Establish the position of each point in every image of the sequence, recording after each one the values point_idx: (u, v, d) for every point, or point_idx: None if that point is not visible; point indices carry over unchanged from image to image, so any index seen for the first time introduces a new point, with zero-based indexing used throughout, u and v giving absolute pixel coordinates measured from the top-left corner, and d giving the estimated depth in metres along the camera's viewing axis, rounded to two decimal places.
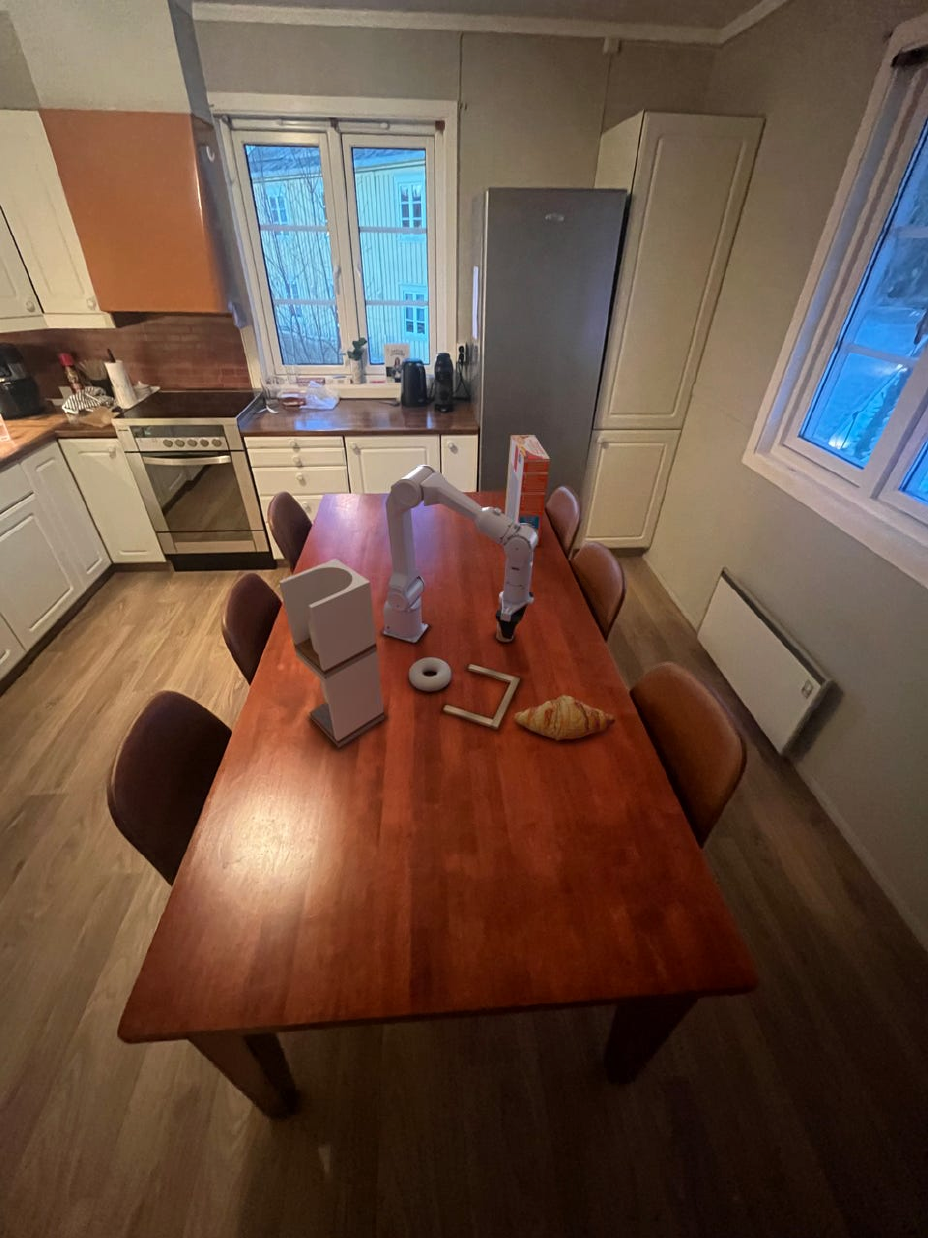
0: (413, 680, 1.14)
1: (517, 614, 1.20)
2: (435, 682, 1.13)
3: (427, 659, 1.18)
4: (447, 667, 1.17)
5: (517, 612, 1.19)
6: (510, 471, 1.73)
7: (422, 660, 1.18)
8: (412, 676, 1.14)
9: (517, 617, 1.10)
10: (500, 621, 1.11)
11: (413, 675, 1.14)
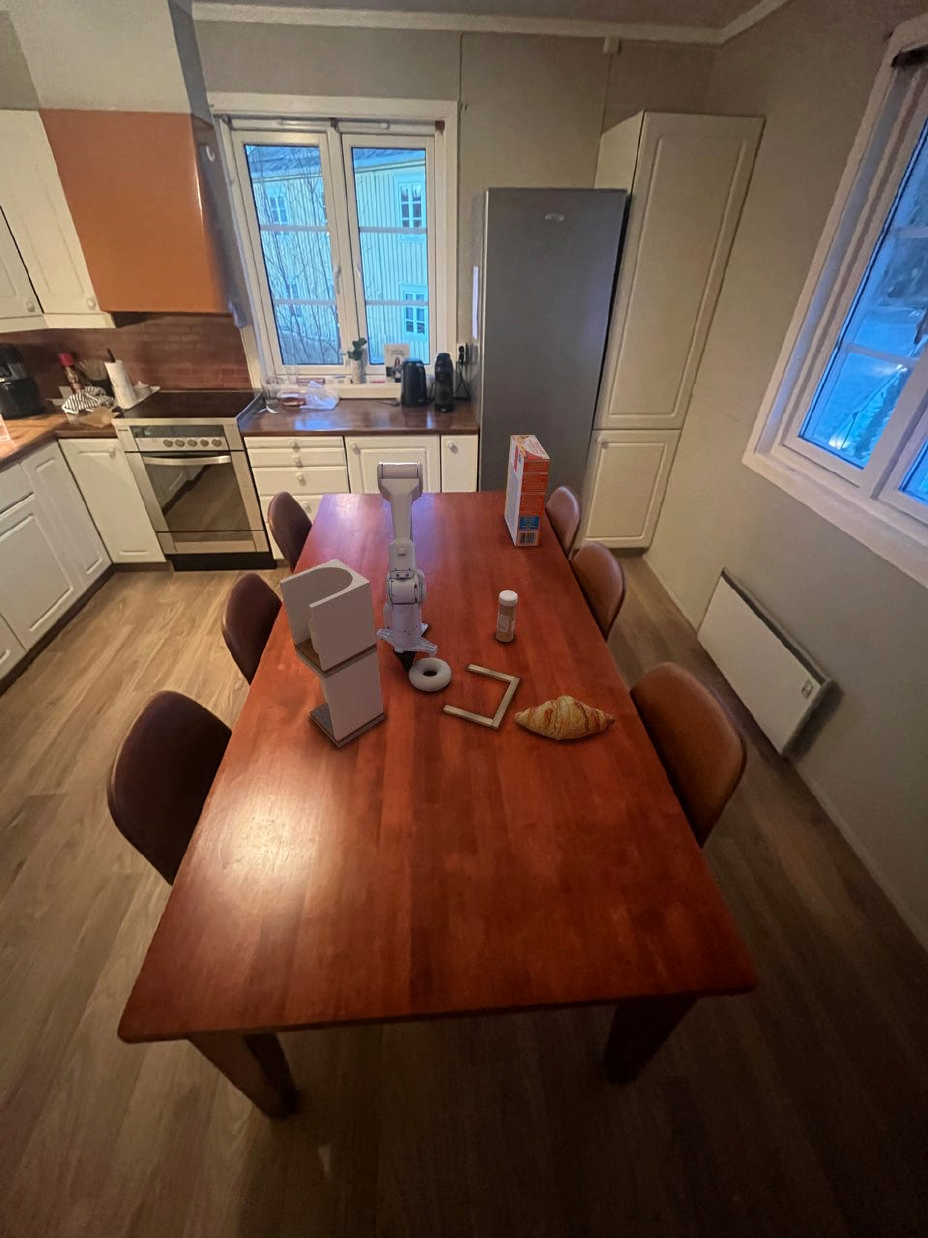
0: (413, 680, 1.14)
1: None
2: (435, 682, 1.13)
3: (427, 659, 1.18)
4: (447, 667, 1.17)
5: None
6: (510, 471, 1.73)
7: (422, 660, 1.18)
8: (412, 676, 1.14)
9: (399, 651, 1.14)
10: None
11: (413, 675, 1.14)
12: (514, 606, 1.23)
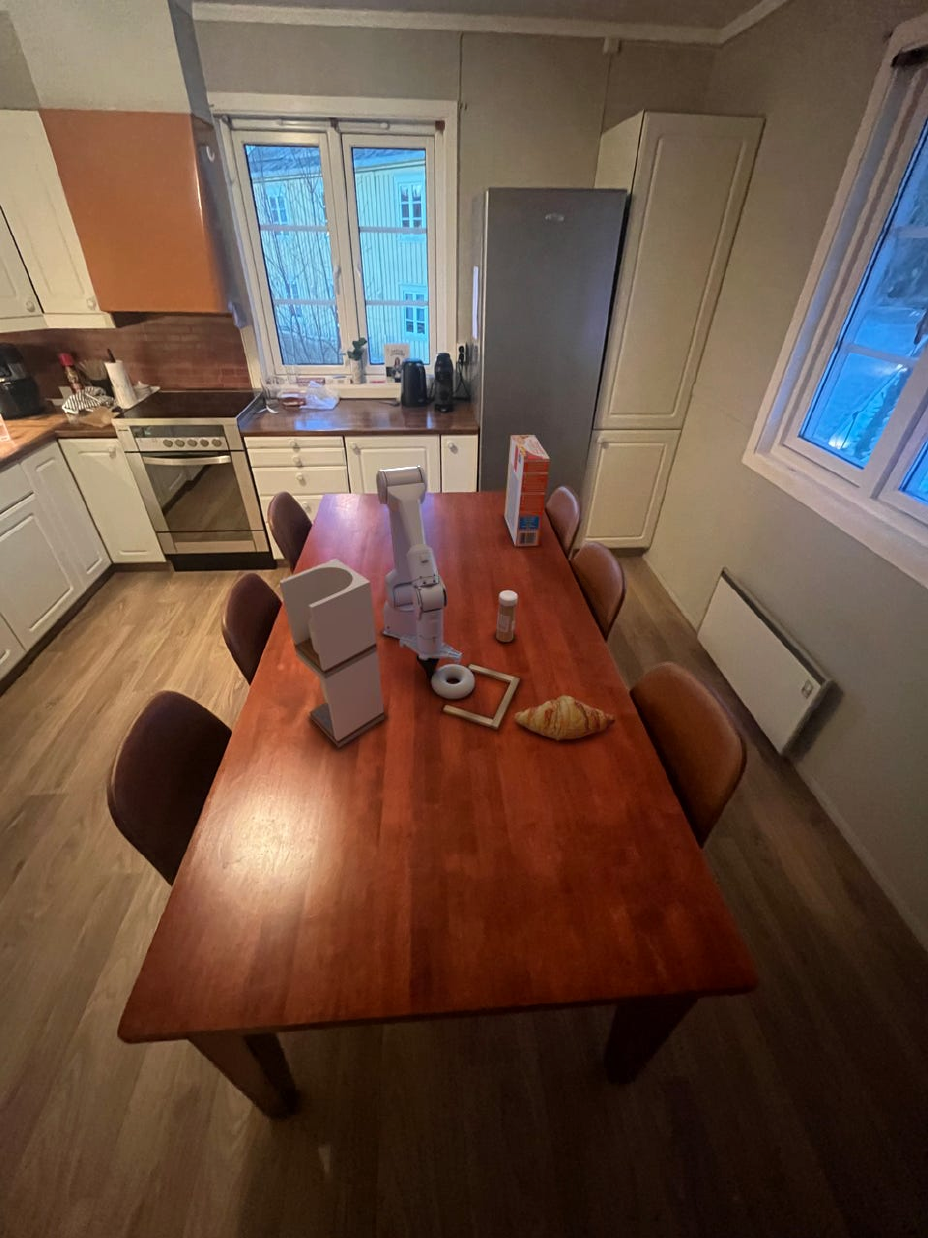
0: (437, 687, 1.12)
1: None
2: (459, 690, 1.11)
3: (450, 666, 1.17)
4: (470, 674, 1.15)
5: None
6: (510, 471, 1.73)
7: (445, 667, 1.16)
8: (435, 683, 1.13)
9: (423, 658, 1.12)
10: None
11: (436, 682, 1.13)
12: (514, 606, 1.23)
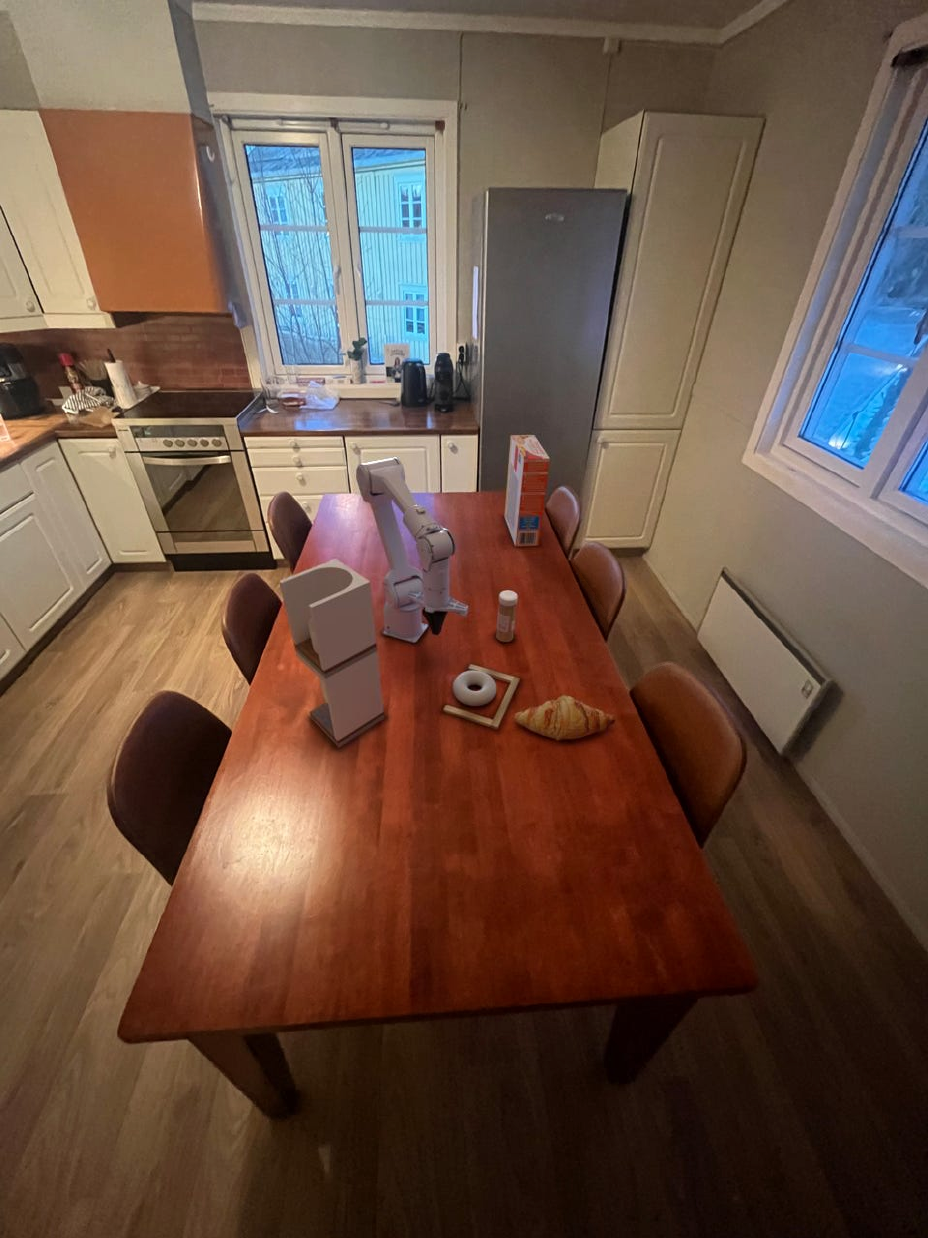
0: (458, 694, 1.11)
1: None
2: (481, 697, 1.10)
3: (471, 672, 1.15)
4: (492, 681, 1.14)
5: None
6: (510, 471, 1.73)
7: (466, 673, 1.15)
8: (457, 690, 1.11)
9: (428, 612, 1.12)
10: None
11: (458, 689, 1.11)
12: (514, 606, 1.23)
